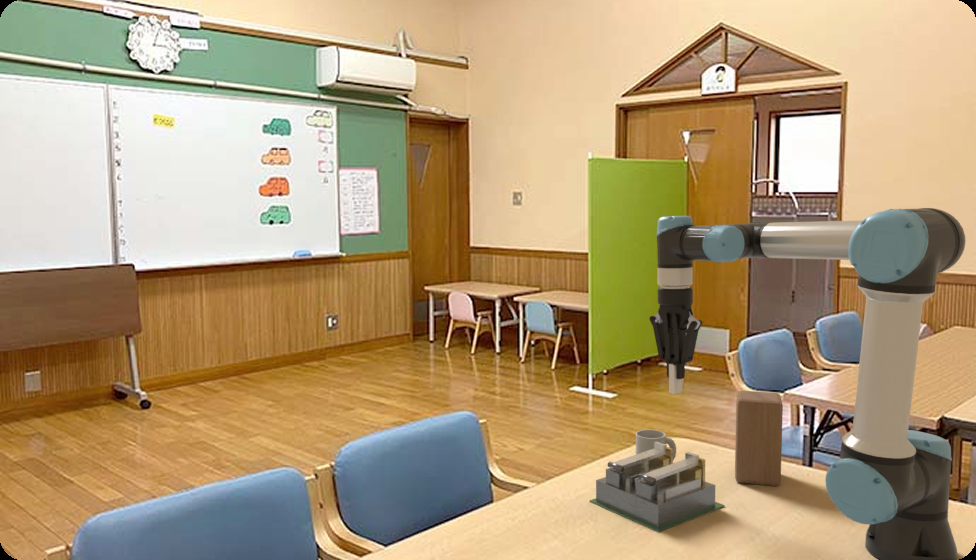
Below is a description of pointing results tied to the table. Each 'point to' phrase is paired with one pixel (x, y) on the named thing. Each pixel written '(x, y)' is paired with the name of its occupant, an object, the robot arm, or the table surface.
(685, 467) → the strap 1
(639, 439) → the cup
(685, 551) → the table surface
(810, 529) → the table surface
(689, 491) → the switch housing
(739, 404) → the wooden block
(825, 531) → the table surface
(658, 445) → the silver long flat bar
